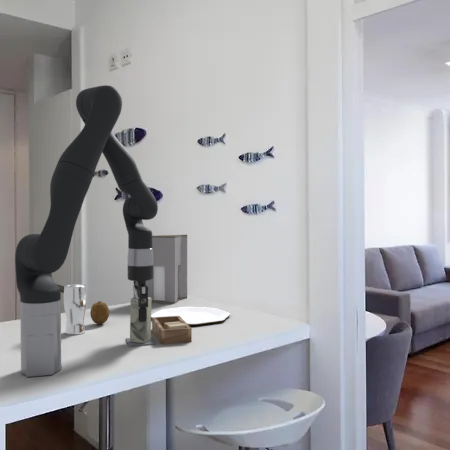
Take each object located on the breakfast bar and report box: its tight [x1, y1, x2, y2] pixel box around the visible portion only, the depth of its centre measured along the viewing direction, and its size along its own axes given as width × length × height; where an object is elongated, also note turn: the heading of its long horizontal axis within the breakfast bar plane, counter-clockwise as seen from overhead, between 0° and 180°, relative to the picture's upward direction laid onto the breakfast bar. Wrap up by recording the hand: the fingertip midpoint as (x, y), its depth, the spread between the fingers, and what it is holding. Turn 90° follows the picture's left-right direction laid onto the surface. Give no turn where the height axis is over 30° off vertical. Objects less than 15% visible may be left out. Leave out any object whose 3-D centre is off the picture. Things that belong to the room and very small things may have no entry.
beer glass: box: [63, 283, 88, 336], centre depth 157 cm, size 7×7×15 cm
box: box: [129, 296, 152, 343], centre depth 146 cm, size 5×4×13 cm
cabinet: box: [146, 234, 188, 305], centre depth 209 cm, size 21×10×28 cm, turn 122°
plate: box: [151, 306, 231, 326], centre depth 179 cm, size 28×28×2 cm
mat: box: [125, 336, 157, 347], centre depth 146 cm, size 8×8×1 cm
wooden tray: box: [151, 316, 193, 345], centre depth 154 cm, size 18×9×4 cm, turn 17°
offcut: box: [164, 321, 185, 329], centre depth 150 cm, size 5×5×2 cm
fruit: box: [90, 300, 110, 326], centre depth 168 cm, size 6×6×8 cm
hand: (140, 318), depth 146 cm, fingers open, 8 cm apart
